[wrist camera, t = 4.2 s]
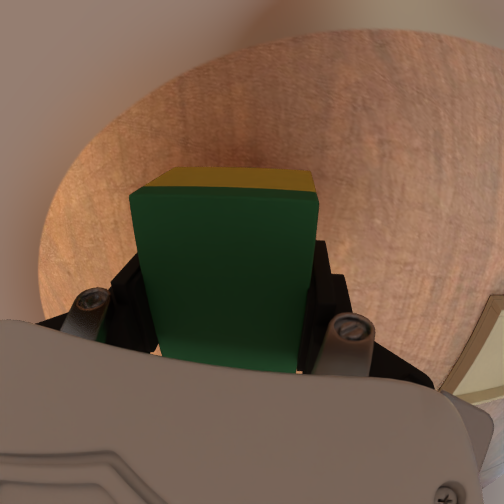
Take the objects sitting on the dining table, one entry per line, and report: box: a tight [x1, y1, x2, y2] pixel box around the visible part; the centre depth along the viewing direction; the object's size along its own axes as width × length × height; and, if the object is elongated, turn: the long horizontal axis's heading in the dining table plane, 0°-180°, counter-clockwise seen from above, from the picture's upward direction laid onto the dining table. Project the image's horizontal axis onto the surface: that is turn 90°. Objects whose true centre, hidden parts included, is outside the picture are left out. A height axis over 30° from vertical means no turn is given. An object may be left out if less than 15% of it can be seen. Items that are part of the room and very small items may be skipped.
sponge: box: [129, 167, 319, 374], centre depth 11 cm, size 8×5×4 cm, turn 179°
